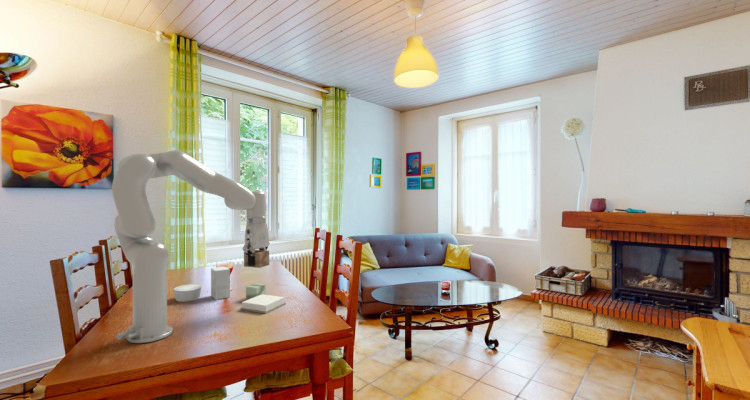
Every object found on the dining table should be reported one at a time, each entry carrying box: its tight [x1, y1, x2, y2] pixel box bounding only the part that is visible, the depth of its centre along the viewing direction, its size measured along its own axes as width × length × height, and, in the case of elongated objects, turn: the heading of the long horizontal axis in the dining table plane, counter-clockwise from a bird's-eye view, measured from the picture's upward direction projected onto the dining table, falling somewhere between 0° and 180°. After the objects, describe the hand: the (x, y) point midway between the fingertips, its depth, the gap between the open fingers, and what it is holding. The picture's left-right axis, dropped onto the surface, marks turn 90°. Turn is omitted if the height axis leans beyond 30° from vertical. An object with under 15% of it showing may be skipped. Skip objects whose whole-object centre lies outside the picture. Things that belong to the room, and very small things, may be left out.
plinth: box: [240, 294, 287, 314], centre depth 143 cm, size 13×13×3 cm
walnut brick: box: [243, 249, 270, 269], centre depth 142 cm, size 6×8×6 cm
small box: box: [210, 266, 231, 301], centre depth 157 cm, size 8×6×13 cm
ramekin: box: [173, 283, 202, 303], centre depth 154 cm, size 11×11×5 cm
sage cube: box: [245, 282, 267, 301], centre depth 155 cm, size 6×6×6 cm
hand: (256, 263), depth 143 cm, fingers closed on walnut brick, 6 cm apart
